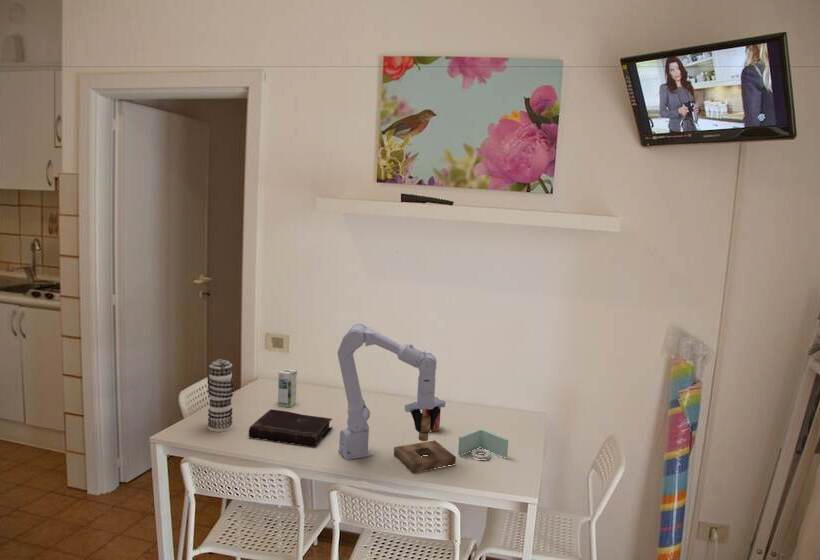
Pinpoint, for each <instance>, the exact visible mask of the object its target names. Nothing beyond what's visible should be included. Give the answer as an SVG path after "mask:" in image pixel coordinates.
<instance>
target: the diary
mask: <svg viewBox="0 0 820 560" xmlns="http://www.w3.org/2000/svg"><path fill="white" fill-rule="evenodd" d="M331 421H333V418H331V417H330V418H329V417H324V416H323V417H322V416H314V415H310V414H309V415H307V414H302V413H297V412H296V413H295V412H291V411H285V410H278V409H271V408H270V409H269V410H268V411H267V412H265V413H264V414H263V415H262V416H260V417H259V418H258V419H257V420H256V421H254V423H253V424H251V426H250V427H249V429H248V438H249V437H252V438H251V439H255V438H259V439H258V440H262V439H267V440H266V441H269V440H273V441H272V442H276V441H280V442H279V443H282V442H287V443H286V444H290V443H294V444H293V445H297V444H300V446H304V445H305V446H306V447H310V446H311V447H310V448H316V447H317V445H316V444H317V443H319V441H320V440H321V439H324V438H325V437H326V436H327V435H329V433H331V431H332V429H333V426H330V423H331Z"/></svg>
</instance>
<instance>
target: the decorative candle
mask: <svg viewBox="0 0 820 560" xmlns="http://www.w3.org/2000/svg"><path fill="white" fill-rule="evenodd" d="M208 367H209V374H208V375H207V378H206V379H207V384H208V385H207V393H208V396H207V397H208V399H209V407H208V409H207V410H208V411H207V412H208V414H207V416H208V418H207V425H208V427H207V429H208V430H210V431H211V432H217V433H219V432H226V431H229V430H231V429H232V427H233V409H234V408H233V407H232V398H233V396H234V394H233V393H234V389H232V388H234V384H233V383H234V381H235V380H234V379H232V377H233V376H234V374H233V372H232V367H233V364H232V363H231V362H230V360H228V359H220V358H219V359H215V360H213V361H212V362H211V364H209V365H208Z"/></svg>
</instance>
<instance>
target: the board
mask: <svg viewBox="0 0 820 560" xmlns="http://www.w3.org/2000/svg"><path fill="white" fill-rule="evenodd" d="M394 455H395V456H396V457H397V458H398V459H399V460H400V461H401V462H402V463H403V464H404V465H405V466H406V467H407V468H408V469H409V470H410V471H409V470H408V469H407V468H406V467H405V466H404V465H403V464H402V463H401V462H400V461H399V460H398V459H397V458H396V457H395V456H394ZM423 455H428V456H423ZM393 456H394V457H395V458H396V459H397V460H398V461H399V462H400V463H401V464H402V465H403V466H404V467H405V468H406V469H407V470H408V471H409V472H410V473H411V474H416V472H417V473H421V471H422V472H426V471H425V470H428V471H431V470H430V469H433V470H435V469H434V468H438V467H443V466H448V465H453V464H455V465H456V458H457V457H456V456H455V455H454V454H453V453H451V452H450V451H449V450H448V449H446V448H445V447H444V445H442V444H440V443H439V442H437V440H430V441H422V442H417V443H411V444H405V445H404V444H403V445H398V446H394V448H393ZM421 456H422V457H421Z"/></svg>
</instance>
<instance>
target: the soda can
mask: <svg viewBox="0 0 820 560" xmlns="http://www.w3.org/2000/svg"><path fill="white" fill-rule="evenodd" d="M434 400H440V399H439V397H435V396H434ZM441 408H442V407H439V409H440V412H441V410H442V409H441ZM421 413H422V414H427V415H428V410H427V409H422V410H421ZM440 423H441V413H440V414H439V415H438V417H437V418H436V421H435V423H434V426H433V429H432V430H431V429H430V431H434V432H436V431H437V430H439V429H440Z"/></svg>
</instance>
